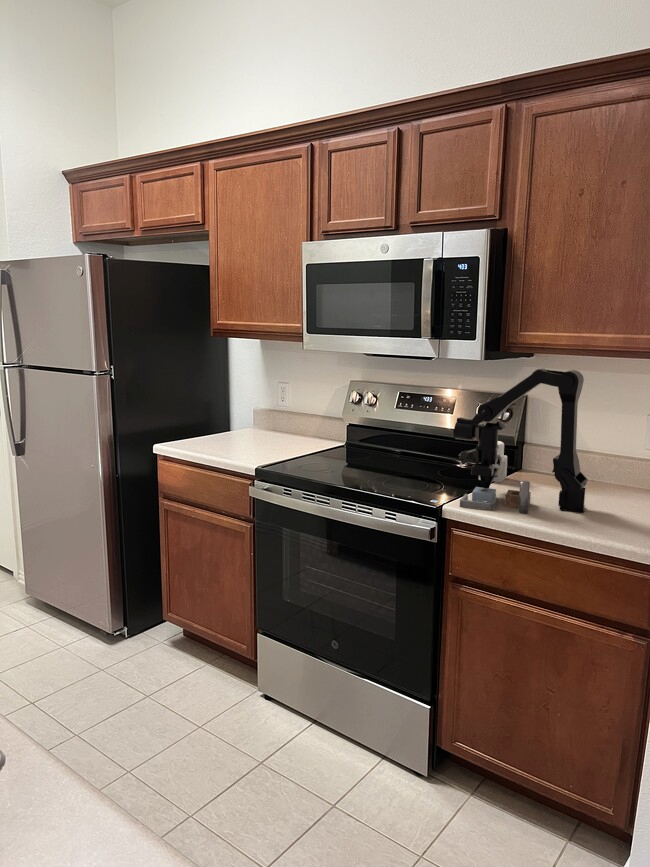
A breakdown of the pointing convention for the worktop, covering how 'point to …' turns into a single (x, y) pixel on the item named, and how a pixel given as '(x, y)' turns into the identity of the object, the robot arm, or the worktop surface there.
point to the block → (483, 494)
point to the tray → (478, 503)
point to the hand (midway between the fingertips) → (485, 491)
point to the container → (501, 468)
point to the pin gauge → (524, 497)
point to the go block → (513, 498)
